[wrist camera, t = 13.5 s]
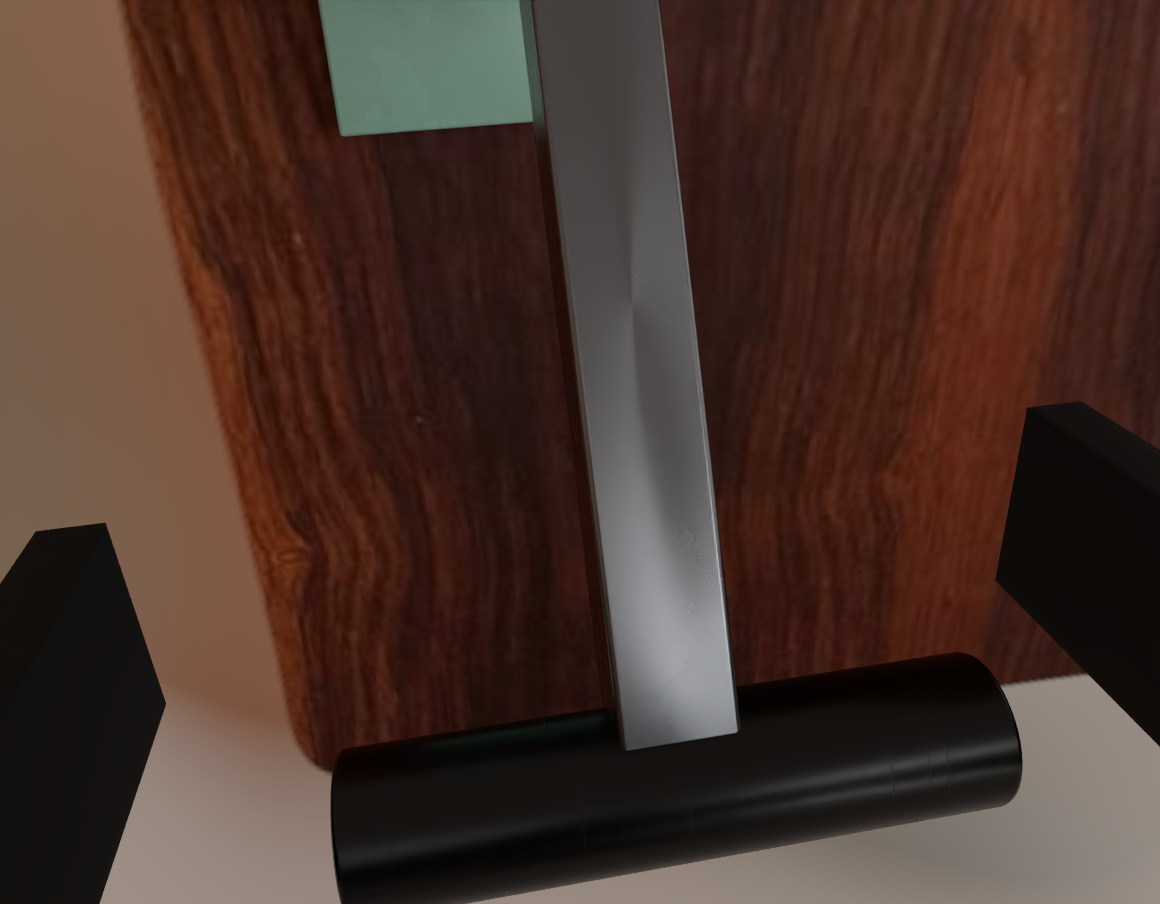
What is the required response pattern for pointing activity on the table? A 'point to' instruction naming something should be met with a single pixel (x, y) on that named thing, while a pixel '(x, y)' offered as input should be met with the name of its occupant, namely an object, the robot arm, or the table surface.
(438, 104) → the green lever stand
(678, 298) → the lever handle
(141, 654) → the robot arm
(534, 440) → the table surface
